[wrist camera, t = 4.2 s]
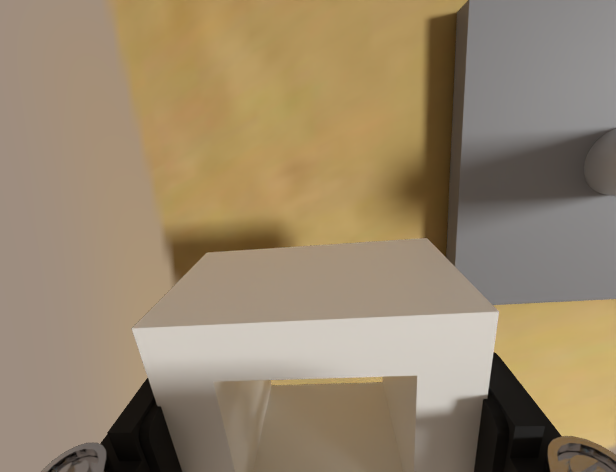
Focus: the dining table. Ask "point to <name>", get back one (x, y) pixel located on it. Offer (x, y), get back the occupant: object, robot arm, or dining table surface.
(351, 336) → the white block
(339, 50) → the dining table surface
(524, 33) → the post base
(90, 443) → the robot arm
